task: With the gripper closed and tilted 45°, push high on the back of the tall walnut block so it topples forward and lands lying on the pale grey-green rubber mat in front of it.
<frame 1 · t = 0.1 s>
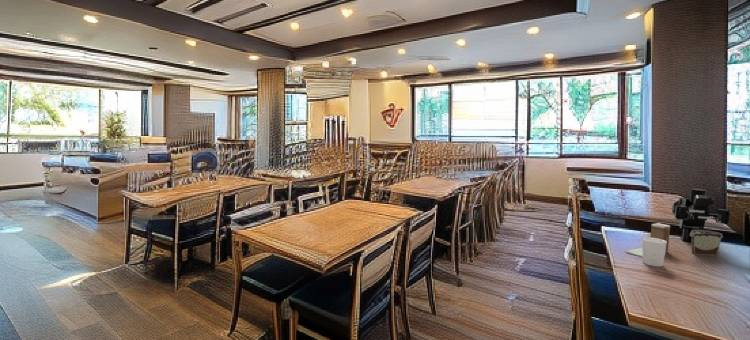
hand: (705, 218, 166), 17 cm above the table, tool horizontal, fingers open, 9 cm apart
white cup: (652, 264, 156), on the table
walnut block: (658, 250, 173), on the table
rubber mat: (645, 253, 169), on the table
food container: (700, 253, 171), on the table
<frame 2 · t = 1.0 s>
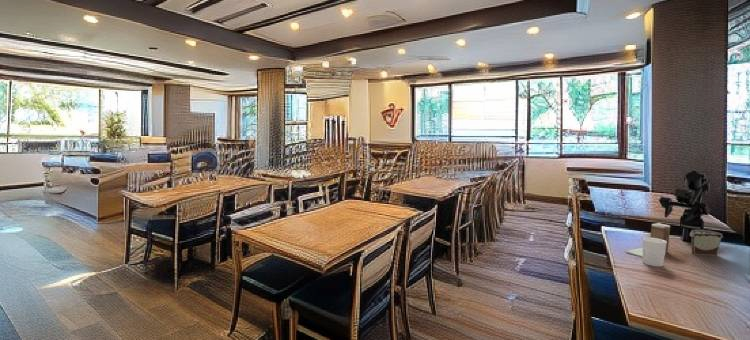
hand: (675, 218, 176), 14 cm above the table, tool tilted 45°, fingers open, 8 cm apart
nothing on the table moved.
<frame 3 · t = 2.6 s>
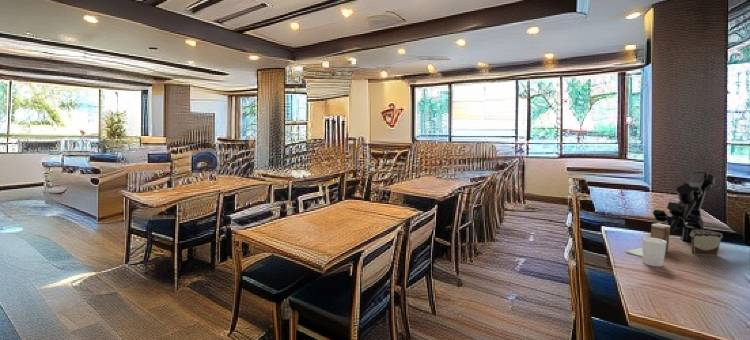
hand: (668, 232, 175), 8 cm above the table, tool tilted 45°, fingers closed
nothing on the table moved.
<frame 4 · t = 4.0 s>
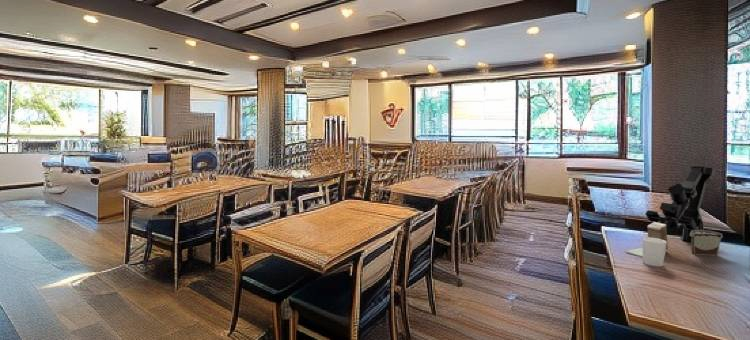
hand: (661, 233, 172), 8 cm above the table, tool tilted 45°, fingers closed
walnut block: (658, 249, 173), point 1 cm above the table, tilted 16°
everything else where it was.
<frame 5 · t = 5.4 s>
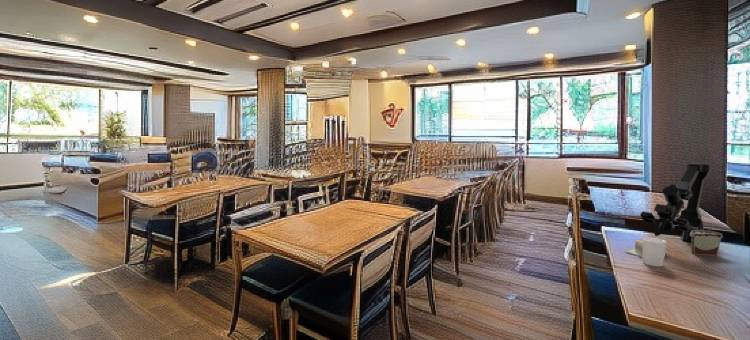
hand: (655, 235, 171), 8 cm above the table, tool tilted 45°, fingers closed
walnut block: (657, 244, 172), point 3 cm above the table, tilted 90°, touching rubber mat
everything else where it was.
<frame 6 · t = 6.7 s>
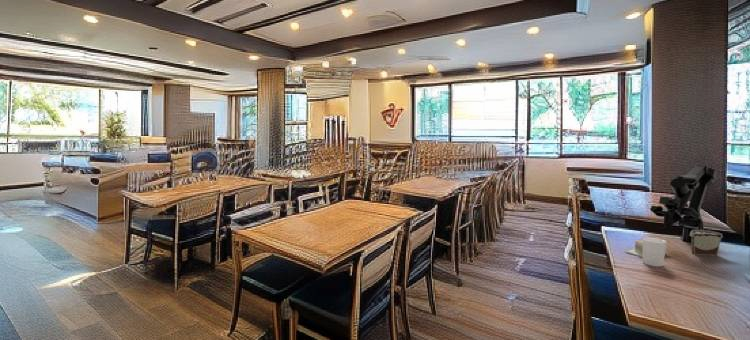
hand: (665, 227, 175), 10 cm above the table, tool tilted 40°, fingers closed
nothing on the table moved.
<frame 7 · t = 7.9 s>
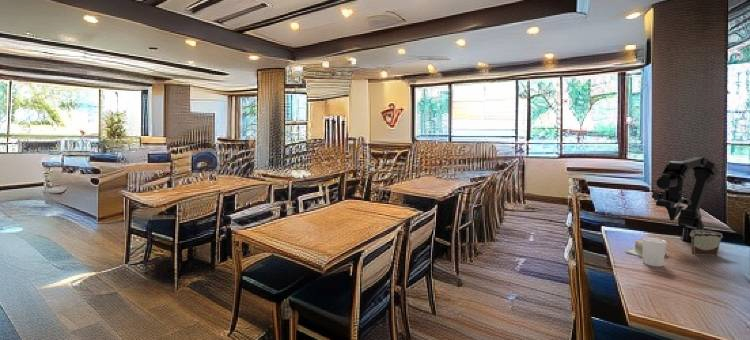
hand: (671, 220, 181), 12 cm above the table, tool pointing down, fingers closed
nothing on the table moved.
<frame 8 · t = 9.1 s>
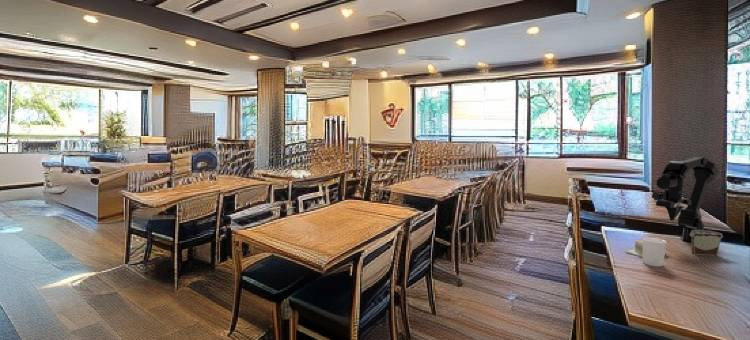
hand: (671, 220, 181), 12 cm above the table, tool pointing down, fingers closed
nothing on the table moved.
at the end: walnut block tilted 90°; walnut block inside the target area (3.0 cm from its centre), point 3.1 cm above the table; walnut block touching rubber mat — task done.
